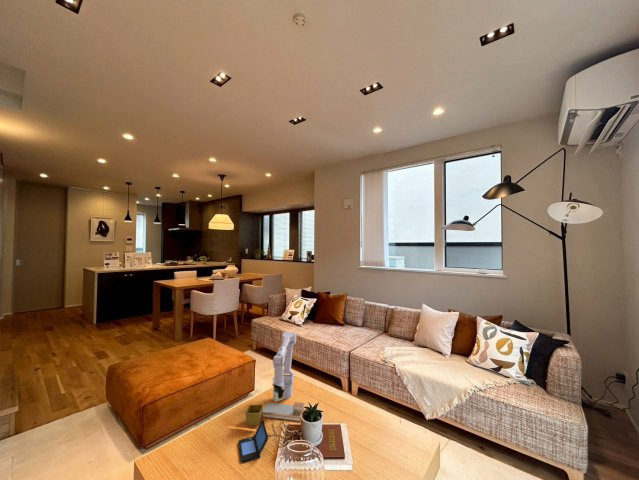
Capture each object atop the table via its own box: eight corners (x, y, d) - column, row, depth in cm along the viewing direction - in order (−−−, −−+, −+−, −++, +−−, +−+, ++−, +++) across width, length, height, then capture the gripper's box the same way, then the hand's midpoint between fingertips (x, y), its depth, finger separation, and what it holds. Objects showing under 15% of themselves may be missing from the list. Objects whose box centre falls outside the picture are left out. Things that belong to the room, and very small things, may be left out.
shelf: (267, 404, 178) (267, 399, 178) (311, 408, 172) (310, 404, 172) (258, 418, 163) (258, 413, 163) (305, 423, 157) (305, 418, 158)
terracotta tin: (294, 411, 168) (294, 402, 168) (304, 412, 167) (304, 403, 167) (293, 415, 164) (293, 405, 164) (302, 416, 162) (302, 406, 163)
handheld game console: (238, 442, 142) (238, 425, 143) (263, 436, 147) (263, 419, 148) (241, 464, 128) (241, 444, 128) (268, 456, 133) (268, 437, 133)
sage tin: (273, 399, 169) (272, 389, 170) (281, 396, 173) (281, 387, 173) (275, 402, 166) (275, 392, 166) (284, 399, 169) (284, 389, 170)
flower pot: (259, 429, 153) (259, 413, 153) (244, 429, 153) (244, 413, 153) (263, 419, 162) (263, 404, 162) (249, 419, 162) (249, 404, 162)
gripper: (268, 372, 174) (268, 393, 173) (278, 380, 162) (278, 403, 161) (278, 369, 178) (278, 389, 177) (288, 377, 166) (288, 399, 165)
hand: (278, 396), depth 170 cm, fingers closed on sage tin, 4 cm apart
